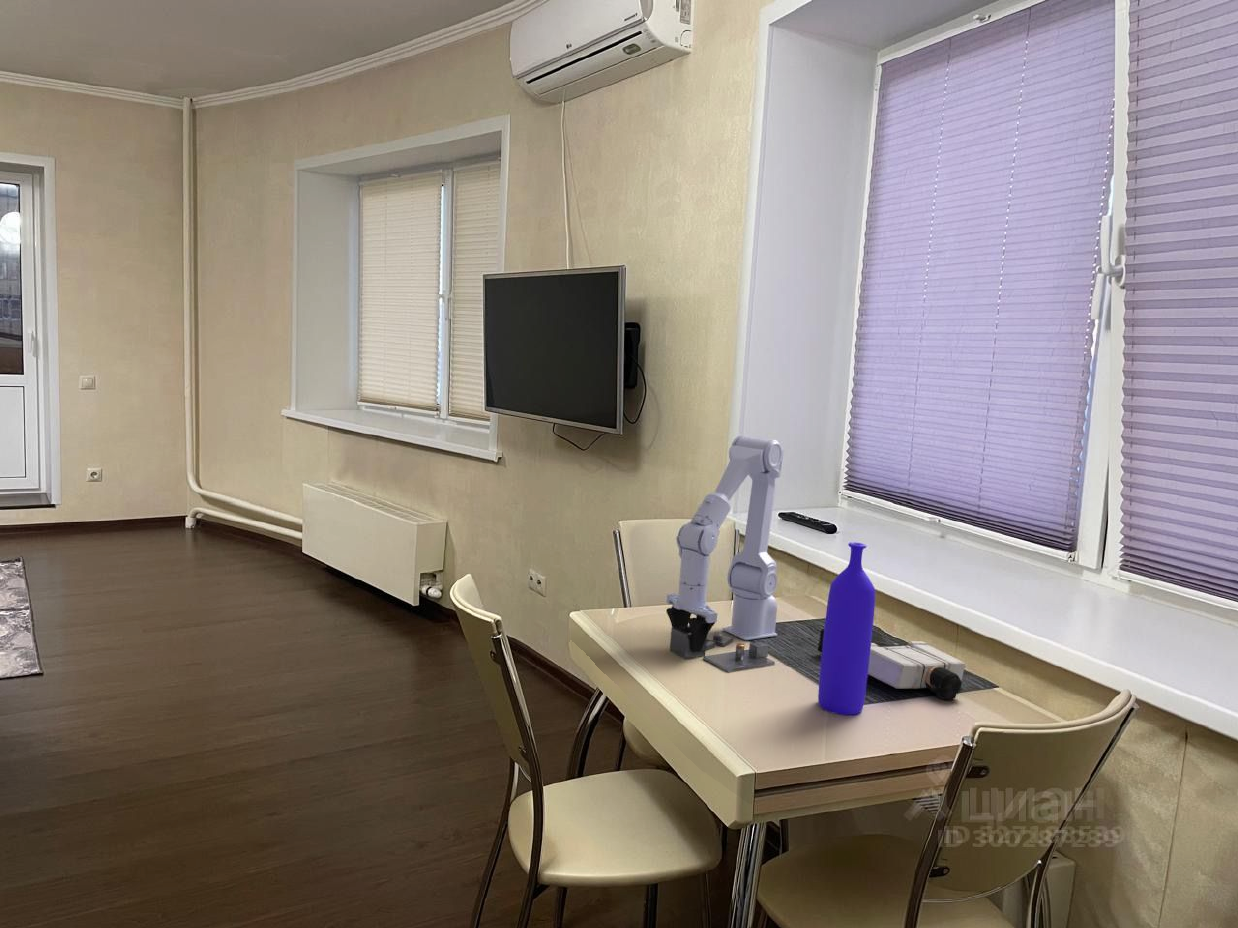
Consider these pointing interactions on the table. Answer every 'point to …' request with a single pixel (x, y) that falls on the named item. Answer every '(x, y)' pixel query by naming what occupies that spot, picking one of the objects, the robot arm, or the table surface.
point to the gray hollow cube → (684, 643)
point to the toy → (913, 666)
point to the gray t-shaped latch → (717, 640)
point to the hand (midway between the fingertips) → (687, 646)
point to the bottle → (847, 639)
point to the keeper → (742, 658)
